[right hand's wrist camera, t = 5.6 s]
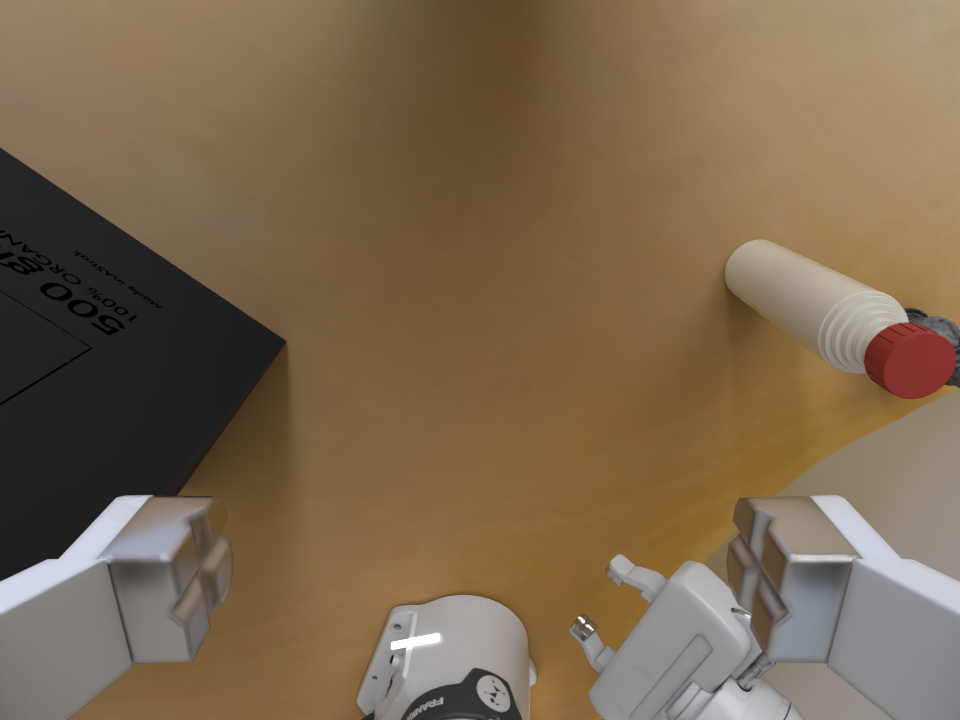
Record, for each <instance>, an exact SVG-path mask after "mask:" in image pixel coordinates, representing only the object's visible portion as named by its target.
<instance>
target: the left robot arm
mask: <svg viewBox="0 0 960 720" xmlns="http://www.w3.org/2000/svg"><path fill="white" fill-rule="evenodd" d="M605 573H606V575H607V576H608V577H609V578H612V580H613V582H614V583H615V584H617V585H618V586H620V585H621V584H622V583H623V582H624V583H627V584H629V585H631V586H634V587H636V588H638V589H641V590H643V591H642V592H641V594H640V595H641V596H642V597H643V598H644V599H645V600H646V601H647V602H648V603H649V604H651V605H650V606H649V608H648V609H647V611H646V612H645V613H644V615H643V616H642V618H641V619H640V620H639V622H638V623H637V625H636V626H635V627H634V629H633V630H632V632H631V633H630V634H629V636H628V637H627V639H626V640H625V641H624V643H623V644H622V646H621V647H620V648H619V650H618V651H617V653H616V652H615V651H614V650H613V649H612V648H611V647H610V646H607V647H606V648H605V646H604V645H603V643H602V641H601V640H600V638H599V636H598V635H597V633H596V631H595V629H596V627H597V625H596V624H595V623H594V622H593V621H592V620H590V619H589V617H588V616H587V615H585V614H581V615H580V616H579V617H578V618H577V619H576V620H575V621H574V623H573V624H572V626H571V627H570V630H569V631H570V633H571V635H572V636H573V637H574V638H575V639H576V640H577V641H578V642H579V643H580V644H581V645H582V648H583V650H584V652H585V654H586V656H587V659H588V661H589V663H590V665H591V666H592V667H593V668H594V669H595V670H596V671H597V672H598V673H599V674H600V676H599V678H598V679H597V681H596V682H595V683H594V685H593V686H592V688H591V689H590V690H589V693H588V694H589V698H590V700H591V703H592V705H593V707H594V709H595V710H596V712H597V713H598V714H599V715H600V716H601V718H602V719H603V720H805V719H804V718H803V717H802V715H801V714H800V712H799V711H798V710H797V708H796V707H795V706H794V705H793V704H792V703H791V702H790V701H789V700H788V699H787V698H785V697H784V696H783V695H782V694H781V693H779V692H778V691H777V690H776V689H775V688H774V687H773V686H772V685H770V684H769V683H768V682H767V681H766V680H765V679H764V678H763V677H762V675H763V674H764V673H765V672H766V670H768V669H770V668H772V667H773V666H774V665H775V663H776V662H768V661H767V659H766V657H765V655H764V654H763V652H762V650H761V648H760V646H759V644H758V642H757V640H756V638H755V637H754V635H753V633H752V631H751V629H750V627H749V626H750V621H751V615H752V614H750V613H749V612H748V611H746V610H745V609H743V608H742V607H740V606H739V605H738V604H737V602H736V600H735V598H734V596H733V594H732V591H731V589H730V588H729V587H728V586H727V585H726V584H725V583H724V582H723V581H722V580H721V579H720V578H719V577H718V576H717V575H715V574H714V573H713V572H712V571H711V570H710V569H709V568H708V567H706V566H705V565H704V564H702V563H699V562H694V561H689V560H688V561H685V562H684V563H683V564H682V565H681V566H680V567H679V568H678V569H677V570H676V571H675V573H674V574H673V575H672V576H671V577H670V579H669V580H667V579H666V578H665V577H664V576H662V575H661V574H660V573H659V572H656V571H653V570H650V569H646V568H643V567H639V566H635V565H634V564H633V563H632V562H630V561H629V560H628V559H627V558H626V557H625V556H623V555H621V554H618V555H616V556H615V557H614V558H613V559H612V560H611V562H610V563H609V565H608V567H607V568H606V570H605ZM396 624H398V625H399V626H397V625H396ZM756 658H757V659H756ZM755 659H756V661H754V660H755ZM753 661H754V662H753ZM752 662H753V663H752ZM751 663H752V664H751ZM536 680H537V670H536V667H535V665H534V664H533V662H532V660H531V659H530V657H529V644H528V636H527V632H526V630H525V627H524V625H523V624H522V622H521V621H520V619H519V618H518V617H517V616H516V615H515V614H514V613H513V612H512V611H511V610H510V609H508V608H507V607H505V606H504V605H502V604H500V603H498V602H496V601H494V600H491V599H488V598H485V597H480V596H474V595H453V596H447V597H443V598H439V599H436V600H434V601H431V602H428V603H425V604H421V605H402V606H397V607H395V608H393V609H392V610H391V612H390V614H389V617H388V619H387V622H386V624H385V627H384V629H383V632H382V634H381V637H380V639H379V642H378V644H377V647H376V649H375V652H374V654H373V657H372V659H371V662H370V664H369V666H368V669H367V671H366V674H365V676H364V679H363V681H362V684H361V686H360V689H359V692H358V695H357V704H358V706H359V707H360V709H361V710H362V711H363V712H364V713H365V714H366V715H367V716H366V717H365V718H363V719H362V720H529V714H530V687H531V686H533V685H534V684H535V683H536Z"/></svg>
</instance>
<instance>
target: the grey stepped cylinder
mask: <svg viewBox="0 0 960 720" xmlns="http://www.w3.org/2000/svg"><path fill="white" fill-rule="evenodd" d="M904 310H905V312H906V314H907V317H908V320H909V323H910V322H912V323H915V324H918V325H920V324H921V325H923V326H925V327H927V328H929V329H931V330H933V331H935V332H937V333H938V335H941V336H943V337H944V338H946V339H947V340H948V341H949V342H950V343H951V344H952V346H953V347H954V350H955V353H956V364H955V368H954V371H953V373H952V375H951V377H950V378H949V379H948V381H947V382H946V383H945V384H944V385H949V386H952V385H955V386H957V387H959V388H960V330H959V328H958V327H957V326H956V325H955V324H954V323H953V322H951V321H950V320H948V319H946V318H942V317H928V316H927V315H926V314H925V313H923V312H922V311H920V310H917V309H913V308H906V309H904Z"/></svg>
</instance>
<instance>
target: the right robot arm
mask: <svg viewBox="0 0 960 720" xmlns="http://www.w3.org/2000/svg"><path fill="white" fill-rule="evenodd" d="M226 521H227V517H226V512H225V507H224V503H223V501H222V500H221V499H220V498H218V497H209V496H160V495H157V496H153V495H125V496H121V497H117V498H116V499H115V500H114V501H113V502H112V503H111V504H110V505H109V506H108V507H107V508H106V509H105V510H104V511H103V512H102V513H101V514H100V515H99V517H98V518H97V519H96V520H95V521H94V522H93V523H92V524H91V525H90V526H89V527H88V528H87V529H86V530H85V531H84V532H83V533H82V535H81V536H80V537H79V538H78V539H77V540H76V541H75V542H74V543H73V544H72V545H71V546H70V547H69V548H68V549H67V550H66V551H65V553H64V554H63V555H62V556H61V557H60V558H59V559H47V560H45V561H43V562H41V563H39V564H37V565H34V566H32V567H30V568H28V569H26V570H24V571H22V572H20V573H18V574H15V575H13V576H11V577H9V578H7V579H5V580H3V581H1V582H0V720H68V719H69V718H70V717H71V716H73V715H74V714H75V713H76V712H78V711H79V710H80V709H81V708H82V707H84V706H85V705H86V704H87V703H89V702H90V701H91V700H92V699H94V698H95V697H96V696H97V695H98V694H100V693H101V692H102V691H103V690H105V689H106V688H107V687H108V686H109V685H111V684H112V683H113V682H114V681H116V680H117V679H118V678H119V677H121V676H122V675H123V674H124V673H125V672H127V671H128V670H129V669H130V668H132V667H133V664H132V663H163V662H192V661H193V659H194V658H195V656H196V654H197V652H198V650H199V648H200V646H201V644H202V642H203V640H204V639H205V637H206V635H207V633H208V631H209V629H210V627H211V626H210V621H209V615H208V614H210V613H211V612H212V611H214V610H215V609H217V608H218V607H220V606H221V605H222V604H223V602H224V600H225V598H226V596H227V594H228V592H229V588H230V584H231V579H232V575H233V552H232V546H231V543H230V542H229V541H228V540H227V539H226V538H225V537H224V536H223V535H222V534H221V533H220V531H221V530H222V528H223V526H224V525H225V523H226ZM733 521H734V523H735V525H736V526H737V528H738V530H739V531H740V533H739V534H738V535H737V536H736V537H735V538H734V539H733V540H732V541H731V542H730V543H729V546H728V554H727V574H728V581H729V584H730V588H731V591H732V594H733V596H734V598H735V600H736V602H737V604H738V605H739V606H740V607H742V608H743V609H745V610H746V611H748V612H749V613H750V614H752V615H751V621H750V626H749V627H750V629H751V631H752V633H753V635H754V637H755V638H756V640H757V642H758V644H759V646H760V648H761V650H762V652H763V654H764V655H765V657H766V659H767V661H768V662H796V663H828V664H827V667H829V668H830V669H831V670H832V671H834V672H835V673H836V674H837V675H839V676H840V677H841V678H842V679H843V680H845V681H846V682H847V683H848V684H850V685H851V686H852V687H853V688H854V689H856V690H857V691H858V692H859V693H861V694H862V695H863V696H864V697H865V698H867V699H868V700H869V701H870V702H872V703H873V704H874V705H875V706H877V707H878V708H879V709H880V710H881V711H883V712H884V713H885V714H886V715H888V716H889V717H890V718H891V719H892V720H960V582H959V581H957V580H955V579H953V578H951V577H949V576H947V575H944V574H942V573H940V572H938V571H936V570H934V569H932V568H930V567H928V566H926V565H923V564H921V563H919V562H917V561H915V560H913V559H901V558H900V557H899V556H898V555H897V554H896V553H895V551H894V550H893V549H892V548H891V547H890V546H889V545H888V544H887V543H886V542H885V541H884V540H883V539H882V538H881V537H880V536H879V534H878V533H877V532H876V531H875V530H874V529H873V528H872V527H871V526H870V525H869V524H868V523H867V522H866V521H865V520H864V519H863V518H862V517H861V515H860V514H859V513H858V512H857V511H856V510H855V509H854V508H853V507H852V506H851V505H850V504H849V503H848V502H847V501H846V499H844V498H842V497H840V496H838V495H816V496H797V497H796V496H795V497H749V498H739V500H738V502H737V504H736V506H735V511H734V517H733Z"/></svg>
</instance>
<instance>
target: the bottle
mask: <svg viewBox="0 0 960 720" xmlns="http://www.w3.org/2000/svg"><path fill="white" fill-rule="evenodd" d="M725 281H726V284H727V287H728V288H729V290H730V291H731V292H732V293H733V294H734V295H735V296H736V297H738V298H739V299H740V300H742V301H743V302H745V303H746V304H747V305H749V306H750V307H751V308H753V309H754V310H755V311H757V312H758V313H759V314H761V315H762V316H764V317H765V318H766V319H768V320H769V321H770V322H772V323H773V324H774V325H776V326H777V327H778V328H780V329H781V330H783V331H784V332H785V333H787V334H788V335H789V336H791V337H792V338H793V339H795V340H796V341H798V342H799V343H800V344H802V345H803V346H804V347H806V348H807V349H808V350H810V351H811V352H812V353H814V354H815V355H817V356H818V357H819V358H821V359H822V360H823V361H825V362H826V363H827V364H829V365H830V366H832V367H833V368H835V369H838V370H840V371H844V372H848V373H854V374H863V373H867V372H865V371H866V369H865V366H864V355H865V351H866V349H867V347H868V345H869V343H870V341H871V340H872V339H873V338H874V337H875V336H876V335H877V334H878V333H879V332H880V331H881V330H883V329H885V328H887V327H888V326H891V325H894V324H898V323H904V322H909V320H908V317H907V314H906V312H905V310H904V309H903V308H902V306H901V305H900V304H899V303H898V302H897V301H896V300H895V299H894V298H893V297H891V296H889V295H887V294H885V293H883V292H881V291H879V290H877V289H874V288H872V287H870V286H868V285H866V284H863V283H861V282H859V281H857V280H855V279H853V278H850V277H848V276H846V275H844V274H842V273H839V272H837V271H835V270H833V269H831V268H829V267H826V266H824V265H822V264H820V263H818V262H815V261H813V260H811V259H809V258H807V257H805V256H802V255H800V254H798V253H796V252H794V251H791V250H789V249H787V248H785V247H783V246H781V245H778V244H776V243H774V242H772V241H769V240H753V241H750V242H747V243H745V244H743V245H741V246H740V247H739V248H737V249H736V250H735V251H734V252H733V254H732V255H731V256H730V258H729V260H728V262H727V264H726V268H725Z"/></svg>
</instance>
